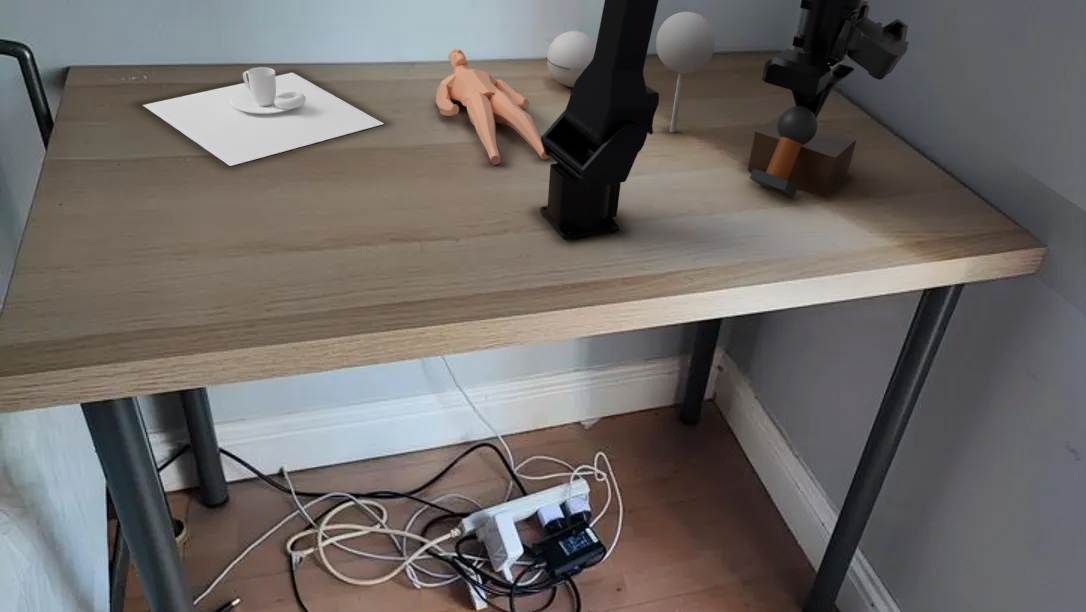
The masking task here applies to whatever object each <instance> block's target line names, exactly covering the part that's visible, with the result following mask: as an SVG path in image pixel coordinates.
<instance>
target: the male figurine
mask: <svg viewBox="0 0 1086 612" xmlns="http://www.w3.org/2000/svg"><path fill="white" fill-rule="evenodd" d="M447 59H448V62H449V63H450V65H451V66H452V69H453V72H454V73H451V75H449V76H447V77H445V78H444V79H443V80H441V82H440V84H439V85H438V88H437V90H436V96H435V103H436V105H437V108H438V110H439V112H440V115H442V116H444V117H454V116H456V115H458V114H459V111H460V107H459V106H458V104H455V103H453V102H452V101H453V100H455V101H457V102H459V103H461V104H462V106H464V107H465V108H466V111H467V115H468V118H469V121H470V124H472V125H473V126H474V128H475V130H476V134H477V136H478V138H479V139H480V142H481V144H482V145H483V147H484V148H485V150H486V152H487V155H488V157H489V160H490V163H491V164H492V165H495V166H496V165H499V164H500V163H501V161H502V160H501V155H500V154H499V153H500V152H499V150H498V144H497V138H496V123H497V124H500V125H502V126H506V125H508V126H509V127H511V128H512V129H513V130H514V131H515V132H517V134H518V135H520V136H521V137H522V138H523V139H524V140H525V142H527V143H528V144H529V146H531V147H532V149H534V151H535V152H536V153H537V154H538V156H539V157H540V158H541V159H542V160H547V159H548V158H550V156H547V155H546V154H545V153H544V149H543V146H542V142H541V136H540V134H539V132H538V128H537V127H536V125H535V123H534V121H533V119H532V117H531V114H529V113H528V112H526V111H524V110H527V109H528V108H529V105H530V101H529V100H528V98H525V97H523V96H522V95H521V94H520V93H518V92H516V91H515V90H514V89H513V88H512V87H511V86H509V85H508V84H507V83H505V81H503V80H502V79H499V78H494V77H493V76H492V75H491V74H489V73H488V72H487V71H483V70H481V69H477V68H469V64H468V61H467V57H466V54H464V52H463V51H462V50H461V49H459V48H455V49H453V50H451V51H450V52H449V53H448V57H447Z"/></svg>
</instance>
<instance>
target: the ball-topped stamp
mask: <svg viewBox="0 0 1086 612" xmlns="http://www.w3.org/2000/svg"><path fill="white" fill-rule="evenodd" d="M780 115H781V117H780V118H779V121H778V133H779V135H780V139H779V142H778V144H777V147H776V149H775V151H774V154H773V156H772V159H771V161H770V164H769V166H768V168H767V171H766V173H765V172H763V171H760V170H757V169H753V171H752V172H751V173H750V176H749V179H750V180H752V181H753V182H755V183H756V184H758V185H759V186H761V187H763V188H767V189H770V190H772V191H774V192H778V193H780V194H783V195H786V196H789V197H792V198H795V196H796V194H797V190H798V189H799V188H797V187H796V186H795V185H793V184H792V183H791V182H789V181H788V178H789V175H790V173H791V171H792V168H793V166H794V163H795V161H796V159H797V156H798V154H799V151H800V149H801V146H802V145H804V144H806V143H808V142H809V141H811V140H812V138H813V137H814V136H815V134H816V131H817V127H818V120H817V118H816V117H815V115H814V113H813V112H812V111H811V110H809V109H808V108H806V107H803V106H796V105H794V106H791V107H789V108H787V109H785V110H784V111H783V113H782V114H780Z"/></svg>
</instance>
